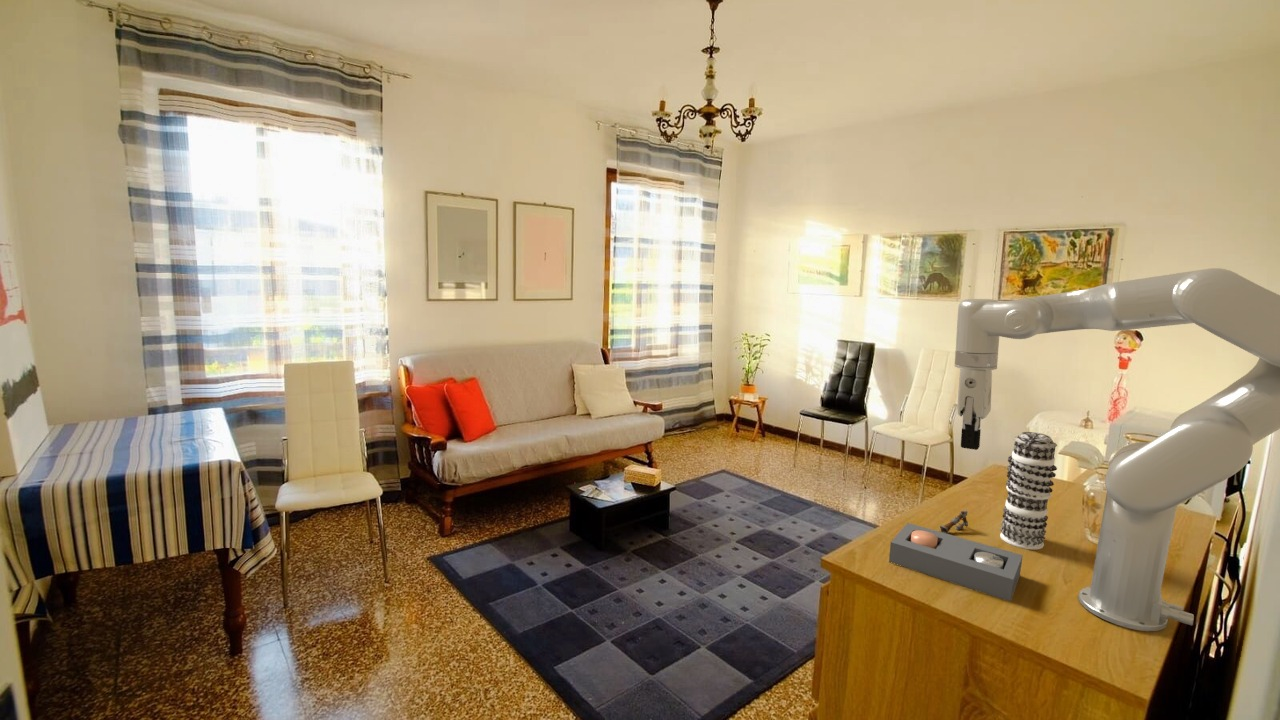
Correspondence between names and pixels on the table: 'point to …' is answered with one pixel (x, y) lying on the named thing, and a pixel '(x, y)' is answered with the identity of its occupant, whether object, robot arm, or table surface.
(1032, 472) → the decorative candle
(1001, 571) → the button housing
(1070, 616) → the table surface
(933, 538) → the terracotta plunger
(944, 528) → the wooden post with brackets
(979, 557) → the cream short cylinder
